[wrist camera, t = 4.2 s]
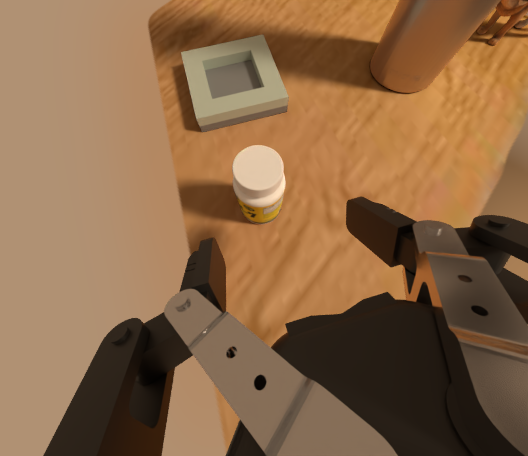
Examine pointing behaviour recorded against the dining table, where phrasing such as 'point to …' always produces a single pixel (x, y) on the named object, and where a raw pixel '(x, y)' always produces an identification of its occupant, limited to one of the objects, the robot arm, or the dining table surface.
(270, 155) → the supplement bottle
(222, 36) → the dining table surface
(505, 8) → the lion figurine
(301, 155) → the dining table surface
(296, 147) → the dining table surface
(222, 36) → the dining table surface
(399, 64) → the robot arm
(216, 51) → the recess plate
